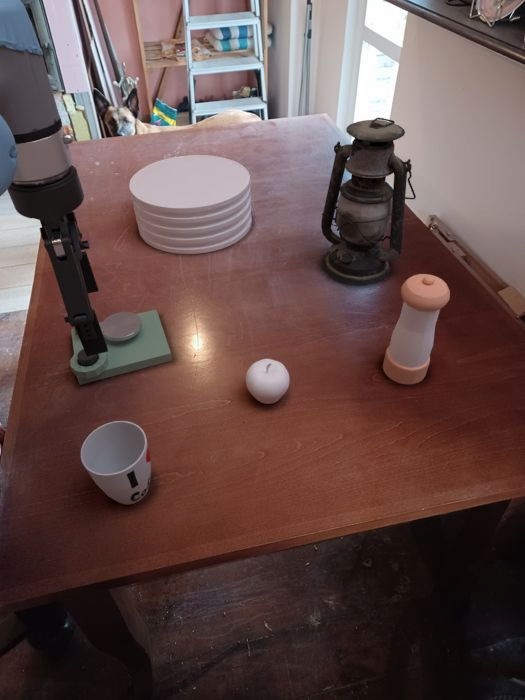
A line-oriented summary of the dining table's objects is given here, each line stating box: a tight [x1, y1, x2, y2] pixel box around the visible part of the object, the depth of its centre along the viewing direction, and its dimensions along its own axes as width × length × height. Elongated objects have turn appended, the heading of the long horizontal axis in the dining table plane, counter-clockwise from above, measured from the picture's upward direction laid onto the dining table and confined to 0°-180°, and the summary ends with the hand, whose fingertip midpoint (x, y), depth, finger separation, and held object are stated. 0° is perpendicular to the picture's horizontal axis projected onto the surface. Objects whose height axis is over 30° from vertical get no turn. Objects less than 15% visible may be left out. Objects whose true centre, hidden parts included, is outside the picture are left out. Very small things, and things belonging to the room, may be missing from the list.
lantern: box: [320, 117, 417, 287], centre depth 96 cm, size 19×19×30 cm
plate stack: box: [128, 154, 253, 255], centre depth 115 cm, size 28×28×12 cm
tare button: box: [77, 349, 98, 367], centre depth 80 cm, size 3×3×2 cm
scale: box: [69, 309, 173, 386], centre depth 85 cm, size 16×14×4 cm
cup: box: [80, 420, 152, 505], centre depth 63 cm, size 8×8×10 cm
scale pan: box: [73, 311, 142, 341], centre depth 86 cm, size 12×9×1 cm
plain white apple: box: [245, 358, 291, 405], centre depth 76 cm, size 7×7×8 cm
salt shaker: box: [382, 273, 451, 385], centre depth 76 cm, size 7×7×19 cm
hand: (93, 320), depth 66 cm, fingers open, 13 cm apart
